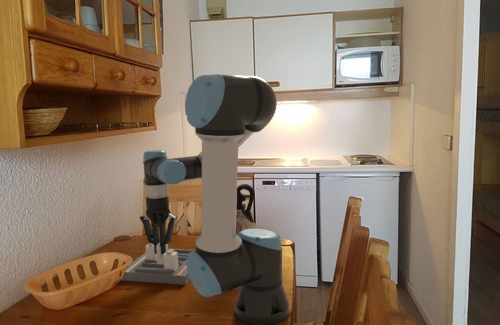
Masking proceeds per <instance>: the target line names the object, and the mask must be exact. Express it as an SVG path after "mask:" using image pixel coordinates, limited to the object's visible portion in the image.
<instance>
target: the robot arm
mask: <svg viewBox="0 0 500 325" xmlns="http://www.w3.org/2000/svg"><path fill="white" fill-rule="evenodd" d="M184 103H185V104H184V112H185V116H186V120H187V123H188V124H189V126H191V127H193V128H195V129H194V130H195V131H194V132H195V135H196V136H197V137H198V138H199V139H200V140H201V151H200V153H199V154H198V155H193V156H183V157H173V158H168V156H167V152H166V150H163V149H154V150H153V149H152V150H150V149H149V150H146V151H144V152H143V161H142V164H143V176H144V189H145V190H144V192H145V196H146V198H145V206H146V207H145V208H146V210H145V213H144V214H143V215H140V216H139V220H140V221H141V222H142V225H143V228H144V232H145V236H146V239H147V243H152V244H153V245H154V253H155V254H157V264H162V263H163V262H164V261H163V254H165V253H166V244H168V245H169V243H171V242H172V237H173V232H174V226H175V222H176V220H177V219H178V216H177V215H173V214H172V213H171V210H170V201H169V200H170V199H169V197H170V196H169V185H178V184H180V183H182V182H184V181H191V180H199V179H201V234H200V235H199V236H198V237H197V238H196V239H195V249H194V251H191V252H190V253H189V254H188V256H187V258H186V266H187V271H188V274H189V277H190V280H189V281H190V282H191V283H192V285H193V287H194V289H195V290H196V291H197V293H199V294H200V295H201V296H203V297H205V298H210V297H213V296H216V295H222V294H223V293H225V292H228V291H231V290H233V289H236V288H238V287H240V288H239V291H238V295H237V297H236V298H237V299H236V301H235V315H236V317H237V318H238V319H240V320H241V321H242V322H244V323H246V324H250V325H274V324H277V323H280V322H282V321H284V320H285V319H286V318H287V317H288V315H290V300H289V299H288V297H287V293H286V289H285V288H284V285H283V248H282V239H281V236H280V235H279V234H278V233H276V232H275V231H273V230H270V229H263V228H258V229H245V230H242V231H241V232H240V233H239V235H238V236H237V235H236V207H237V187H238V165H239V164H238V163H239V162H238V159H239V157H238V155H239V148H240V147H241V146H242V145H243V144H244V143H245V142H246V141H247V140H248V139H249V138H250V137H251V136H253V134H254V133H259V132H261V131H262V130H263V129H264V128H266V127H267V125H269V124H270V122H271V121H272V120H273V118H274V115H275V113H276V110H277V104H278V102H277V96H276V94H275V90H274V89H273V87H272V86H271V84H269V83H268V82H267V81H265V80H264V79H263V78H262V77H258V76H254V75H232V74H230V75H229V74H218V73H215V74H202V75H198V76H197V77H196V78H195V79H193V81H192V82H191V84H190V85H189V88H188V90H187V93H186V96H185V101H184ZM167 220H168V224H167ZM166 224H167V227H166ZM166 228H167V229H166ZM159 236H160V239H159ZM159 242H160V243H159Z"/></svg>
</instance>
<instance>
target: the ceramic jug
mask: <svg viewBox="0 0 500 325" xmlns="http://www.w3.org/2000/svg"><path fill="white" fill-rule="evenodd" d="M242 190H244V191H248V193H249V199H248V203H247V207H246V208H245V206H244V204H243V202H246V201H247V198H246V197H245V195H244V194H242V192H241V191H242ZM254 200H255V190H254V187H253V186H251V185H250V184H248V183H242V184H240V185H237V207H236V235H237V236H238V235H239V233H240V232H241V231H242V230H245V229H259V228H258V226H257V224H256V223H255V221H254V217H253V214H252V212H251V211H252V207H253V203H254Z"/></svg>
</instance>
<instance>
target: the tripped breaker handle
mask: <svg viewBox="0 0 500 325" xmlns="http://www.w3.org/2000/svg"><path fill="white" fill-rule="evenodd" d="M168 249H169V250H168V251H167V252H166V253H165V254H163V261H164V269H168V270H174V272H175V271H176V270H177V269H178V268H179V267H178V252H174V249H175V248H168Z"/></svg>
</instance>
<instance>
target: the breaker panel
mask: <svg viewBox="0 0 500 325" xmlns="http://www.w3.org/2000/svg"><path fill="white" fill-rule="evenodd" d="M169 249H170V248H168V250H169ZM173 249H174V252H178V267H179V268H178V269H177V270H176V271H175V272H174V270H168V269H164V262H163V263H162V264H157V260H146V251H145V252H144V253H142V255H140V256H139V257H138V258H136V259H135V260H133V262H131V263H129V266H128V265H127V266H128V267H127V266H126V267H127V269H126V270H125V272H124V275H123V277H122V280H121V281H124V282H125V281H127V282H139V283H140V282H141V283H154V284H168V285H170V284H171V285H185V286H186V285H188V283H189V281H191V280H190V277H189V274H188V271H187V266H186V258H187V256H188V254H189V253H190V252H191V251H195V249H183V248H173Z"/></svg>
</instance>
